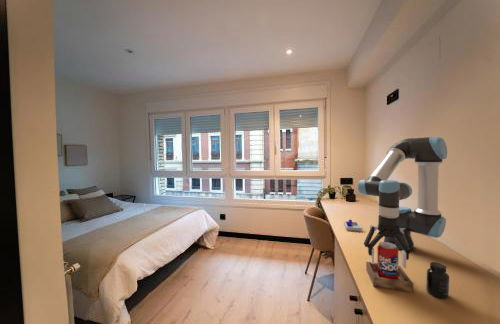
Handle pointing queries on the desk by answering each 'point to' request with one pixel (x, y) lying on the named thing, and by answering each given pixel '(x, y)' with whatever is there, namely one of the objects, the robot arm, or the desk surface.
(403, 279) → the walnut box
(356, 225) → the grey desk tray
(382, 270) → the soda can
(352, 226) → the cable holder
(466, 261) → the desk surface
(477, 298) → the desk surface
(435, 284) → the supplement bottle
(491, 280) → the desk surface
